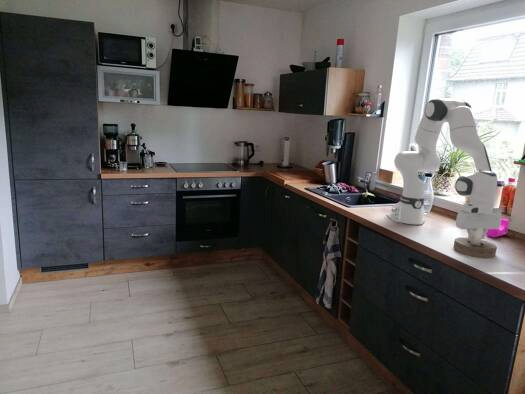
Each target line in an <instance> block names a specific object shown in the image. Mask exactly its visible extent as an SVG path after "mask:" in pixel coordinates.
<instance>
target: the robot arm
mask: <svg viewBox="0 0 525 394" xmlns="http://www.w3.org/2000/svg"><path fill="white" fill-rule="evenodd" d="M444 123H448V126H449V128H448V129H449V137H450V138H449V139H450V141H451V143H452V145H453V147H454V148H455V149H457V150H459V151H462V152H464V153H466V154H467V155H469V156H470V157H471V158H472V159H473V162H474V166H475V169H476V171H475V172H473V173H470V174H464V175H461V176H459V177H458V178H457V179H456V180H455V184H454V189H455V191H456V194H458V195H459V196H463V197H470V201H469V202H466V203H463V204H461V205H459V207H458V209H459V211H458V212H457V215H456V221H455V226H456V227H457V228H458V229H461V230H466V232H467V234H468V235H467V238H470V239H473V238H474V235H473V234H472V231H473V229H479V228H483V232H482V238H481V240H484V239H485V238H486V237H485V236H486V234H487V232H488V229H499V228H500V226H501V219H502V210H501V209H500V208H499V207H496V208H495V207H494V204H495V195H496V193H497V189H498V175H497V173H496V172H494V171H492V170H493V169H492V167H491V162H490V158H489V155H488V151H487V147H486V145H485V144H484V142H483V141H482V140H481V139H480V136H479V134H478V129H477V124H476V123H477V122H476V118H475V115H474V112H473V110H472V105H471V104H470V102H469V101H466V100H463V99H458V98H457V99H455V98H434V99H430V100H429V101H427V103H426V104H425V107H424V114H423V115H422V117H421V118H420V121H419V124H418V127H417V130H416V133H415V136H414V142H415V144H416V145H418V146H419V150H418V151H409V150H406V151H400V152H398V153H397V154H396V156H395V157H394V161H393V162H394V166H395V168H396V169H397V170H398V172H400V174H401V176H402V182H403V183H402V184H403V186H402V187H403V188H402V195H400V196H399V202H397V203H396V204H394V205H393V206H392V207H391V211H390V213H386V216H387V217H388V218H390V219H391V220H392V221H393V222H396V223H403V224H407V225H423V224H424V223H425V222H426V219H424V218H425V207H424V206H423V205H424V204H425V198H424V197H425V189H426V182H424V181H423V180H422V179H421V178H420V177H419V173H430V172H431V173H432V172H435V171H437V170H439V169H440V167H441V164H442V159H441V157H440V155H439V154H438V153H437V144H438V140H439V137H440V135H441V131H442V128H443V125H444Z"/></svg>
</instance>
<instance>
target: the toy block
mask: <svg viewBox="0 0 525 394" xmlns="http://www.w3.org/2000/svg"><path fill="white" fill-rule="evenodd" d="M509 225H510V220H509V219H505V218H501V226H500V228H499V229H488V232H487V233H486V234H485V236H486V237H490V238H496V237H501V236H504V235H507V234H506V233H508V229H509Z"/></svg>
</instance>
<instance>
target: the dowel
mask: <svg viewBox="0 0 525 394" xmlns="http://www.w3.org/2000/svg"><path fill="white" fill-rule="evenodd" d="M482 232H483V228H479V229H473V231H472V234H473V235H474V238H473V239H471V241H470V244H473V245H480V244H481V240H482V239H481V238H482Z"/></svg>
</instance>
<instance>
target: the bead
mask: <svg viewBox="0 0 525 394" xmlns="http://www.w3.org/2000/svg"><path fill="white" fill-rule="evenodd" d="M470 241H471V239H470V238H468V236H466V237H464V236H463V237H457V238H454V242H453V250H454V251H456V252H458V253H460V254H462V255H465V256H469V257H474V258H480V259H481V258H482V259H493V258H494V257H496V256H497V255H496V254H497V248H498V247H497V245H496V244H494V243H492V242H490V241H487V240H484V239H481V244H480V245H473V244H470Z"/></svg>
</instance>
